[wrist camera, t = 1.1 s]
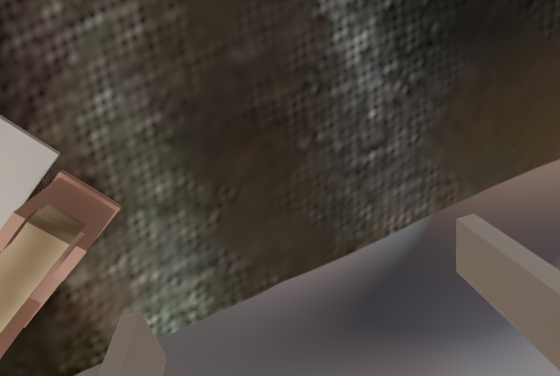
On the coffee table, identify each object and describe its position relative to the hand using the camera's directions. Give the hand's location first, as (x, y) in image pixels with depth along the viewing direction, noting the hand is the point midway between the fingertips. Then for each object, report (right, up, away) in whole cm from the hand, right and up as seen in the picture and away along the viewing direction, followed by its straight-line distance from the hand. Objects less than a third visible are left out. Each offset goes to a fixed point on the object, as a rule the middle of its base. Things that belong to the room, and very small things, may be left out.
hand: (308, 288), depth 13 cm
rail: (-28, -6, +18) cm, 34 cm away
